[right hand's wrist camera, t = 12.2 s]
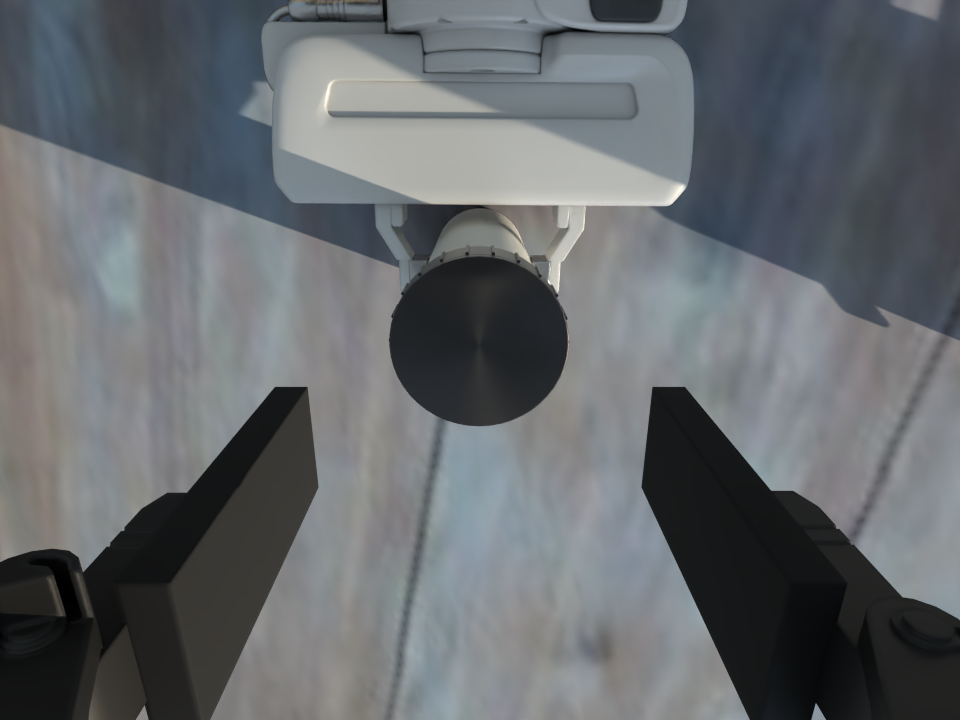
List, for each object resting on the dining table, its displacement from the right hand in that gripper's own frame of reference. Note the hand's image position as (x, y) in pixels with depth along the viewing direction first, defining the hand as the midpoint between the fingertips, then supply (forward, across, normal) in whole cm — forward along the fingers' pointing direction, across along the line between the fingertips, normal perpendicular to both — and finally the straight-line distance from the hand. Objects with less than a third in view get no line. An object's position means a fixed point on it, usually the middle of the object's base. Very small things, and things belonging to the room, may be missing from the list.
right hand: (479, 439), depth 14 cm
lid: (+7, 0, 0) cm, 7 cm away
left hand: (+19, 0, -1) cm, 19 cm away
